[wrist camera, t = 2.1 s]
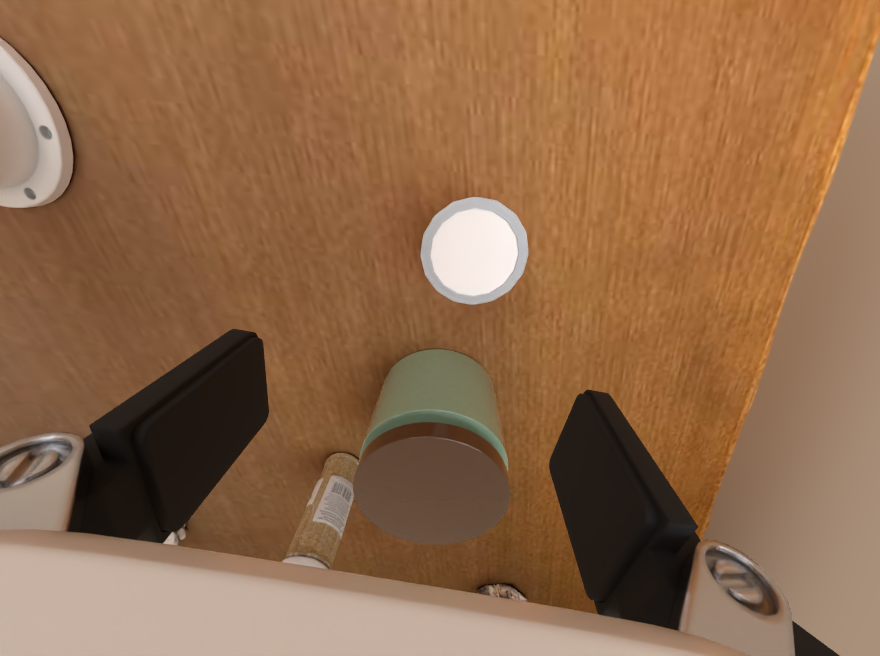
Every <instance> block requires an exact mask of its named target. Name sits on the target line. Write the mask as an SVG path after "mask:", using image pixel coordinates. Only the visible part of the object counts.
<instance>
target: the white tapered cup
mask: <svg viewBox="0 0 880 656" xmlns="http://www.w3.org/2000/svg"><path fill="white" fill-rule="evenodd" d="M528 254H529V253H528V244H527V235H526V231H525V229H524V228H523V226H522V224H521V222H520V221H519V219H518V217H517V216H516V214H515V213H514V212H512V211H511V210H510V209H508V208H507V207H505V206H504V205H503V204H501V203H500V202H498V201H496V200H491V199H485V198H480V197H471V198H467V199H463V200H459V201H454V202H452V203H451V204H449V205H448V206H447V207H445V208H444V209H443V210H441V211H440V212H439V213H437V214H436V215H435V216H434V217H433V219H432V221H431V222H430V224H429V226H428V228H427V229H426V231H425V233H424V234H423V241H422V248H421V254H420V256H421V260H422V264H423V268H424V272H425V276H426V277H427V278H428V280H429V281H430V282H431V284H432V285H433V286H434V288H435V289H436V290H437V291H438V292H439V293H441V294H442V295H444V296H446V297H447V298H449V299H451V300H452V301H454V302H460V303H465V304H471V305H475V304H480V303H485V302H490V301H494V300H495V299H497V298H498V297H500V296H502V295H503V294H505V293H507V292H508V291H510V290H511V288H512V287H513V286H514V285H515V283H516V282H517V281H518V279H519V278H520V277H521V275H522V274H523V271H524V268H525V264H526V261H527V257H528Z"/></svg>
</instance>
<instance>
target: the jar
mask: <svg viewBox="0 0 880 656" xmlns="http://www.w3.org/2000/svg"><path fill="white" fill-rule="evenodd" d="M353 493H354V498H355V501H356V503H357V505H358V507H359V509H360V511H361V512H362V513H363V514H364V516H365V517H366V518H367V519H368V520H369V521H370V522H371V523H373V524H374V525H375V526H376V527H378V528H379V529H381V530H383V531H384V532H386V533H388V534H390V535H392V536H395V537H397V538H400V539H403V540H406V541H410V542H415V543H421V544H431V545H443V544H453V543H459V542H463V541H467V540H470V539H473V538H475V537H478V536H480V535H482V534H484V533H485V532H487V531H489V530H490V529H491V528H493V527H494V526H495V525H496V524H497V523H498V522H499V521H500V520H501V519H502V517H503V516H504V515H505V513H506V511H507V509H508V506H509V503H510V496H511V493H510V484H509V478H508V457H507V452H506V446H505V441H504V435H503V430H502V424H501V419H500V413H499V408H498V402H497V397H496V391H495V387H494V384H493V382H492V379H491V377H490V376H489V374H488V373H487V372H486V370H485V369H484V368H483V367H482V366H481V365H480V364H479V363H477V362H476V361H475V360H473V359H472V358H470V357H468V356H466V355H464V354H461V353H458V352H455V351H451V350H444V349H430V350H423V351H419V352H416V353H413V354H410V355H408V356H406V357H404V358H403V359H401V360H400V361H398V362H397V363H396V364H395V365H394V366H393V367H392V368H391V370H390V371H389V372H388V374H387V375H386V377H385V380H384V382H383V385H382V388H381V391H380V394H379V397H378V400H377V403H376V406H375V408H374V411H373V414H372V417H371V420H370V423H369V426H368V429H367V432H366V435H365V438H364V441H363V443H362V446H361V450H360V455H359V463H358V466H357V469H356V472H355V475H354V480H353Z"/></svg>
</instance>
